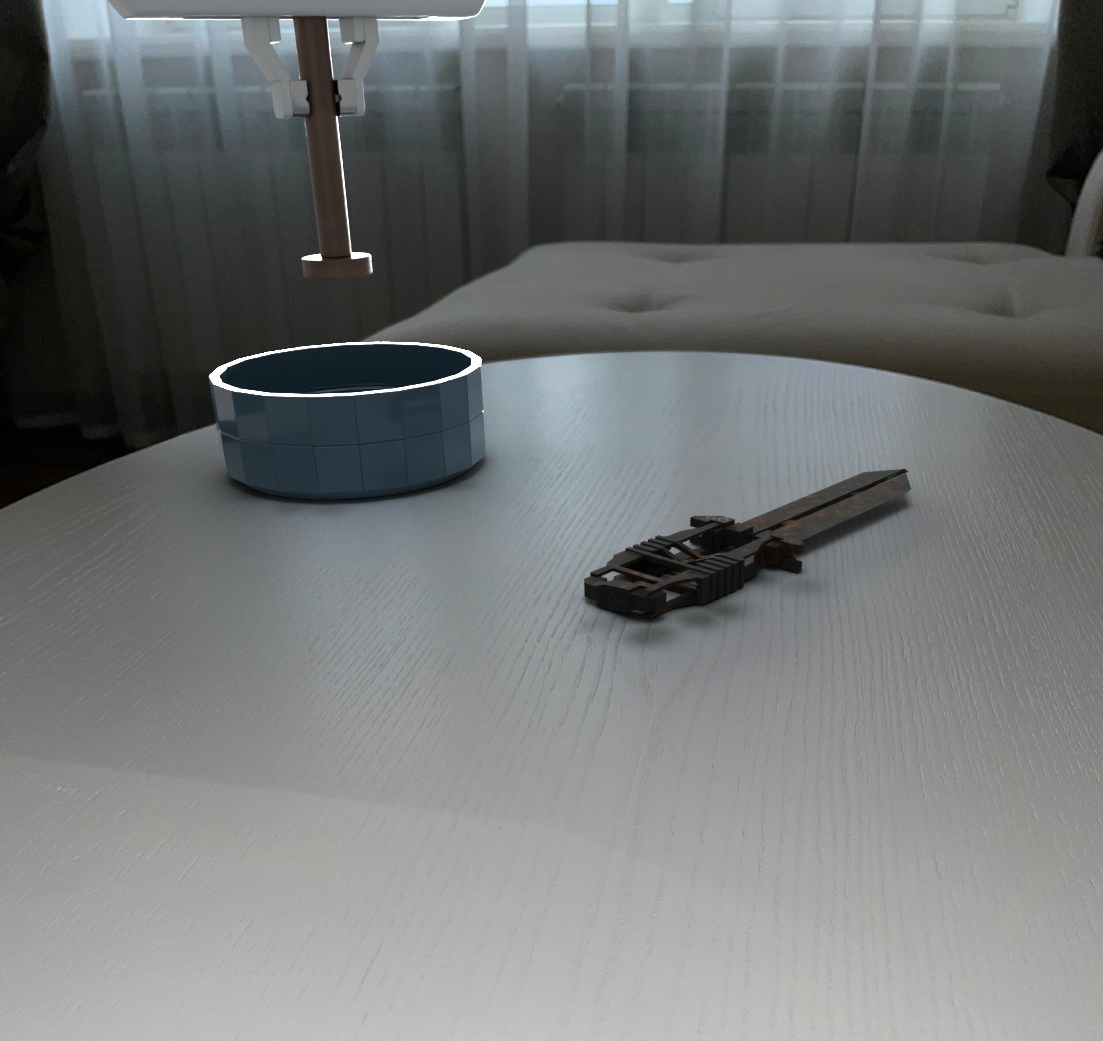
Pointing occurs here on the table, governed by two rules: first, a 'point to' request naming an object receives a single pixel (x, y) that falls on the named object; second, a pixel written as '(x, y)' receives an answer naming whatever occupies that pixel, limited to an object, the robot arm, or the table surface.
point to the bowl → (350, 418)
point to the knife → (721, 532)
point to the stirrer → (325, 157)
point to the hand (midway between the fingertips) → (320, 117)
